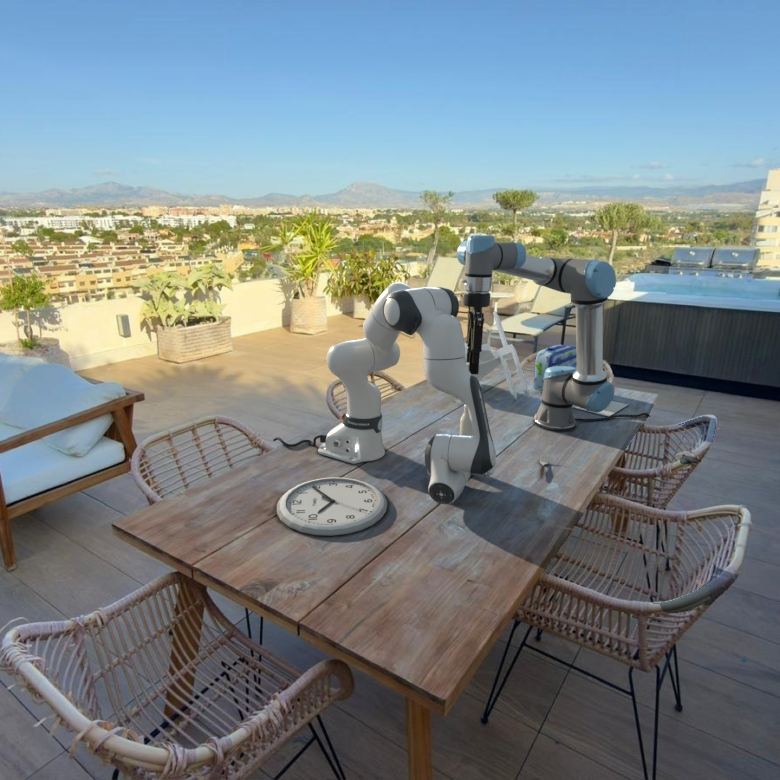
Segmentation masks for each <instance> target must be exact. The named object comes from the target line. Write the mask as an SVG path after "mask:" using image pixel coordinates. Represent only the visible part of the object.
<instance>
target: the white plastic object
mask: <svg viewBox="0 0 780 780" xmlns="http://www.w3.org/2000/svg"><path fill="white" fill-rule="evenodd" d="M492 315H493V319H494V321H495V324H496V325H495V326H496V328H497V332H498V335H499V338H500V342H501V345H502V347H500V348H498V349H496V350H495V349H493V348H492V347H491V346H490V344H489V343H488V342H487V343H482V348H481V349H482V351H481V352H480V355H479V364H480V371H479V372H478V374H472V375H473V376H475V377H476V378H477V379H478V381H479V383H480V382H482V381H484V378H485V377H486V376H487V375H489V374H490V373H492V372H494V371H495V370H496V369H497V368H499V367H500V366H502V370H503V373H504V376H505V380H506V383H507V386H508V390H509V393H510V394H511V395H512V397H513V398H514V399H515V400H517V392H516V391H517V390H516V388H515V385H514V381H513V378H512V375H511V371H510V369H509V365H508V361H510V360H513V363H514V366H515V369H516V372H517V376H518V380H519V382H520V385H521V389H522V391H523V393H524V395H525V396H526V397H528V396H531V395H530V390H529V388H528V387H529V386H528V384H527V381H526V378H525V375H524V371H523V369H522V368H523V367H522V366H521V362H520V359H519V355H518V352H517V349H516V347H515V346H514V345H513V343H511V344H508V341H507V337H506V334H505V331H504V328H503V325H502V321H501V318H500V315H499V314H498V312H497V311H496V310H495V311H492ZM464 345H465V360H466V362H467V348H469V347H467V343H466V342H465V341H464Z"/></svg>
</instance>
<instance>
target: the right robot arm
mask: <svg viewBox="0 0 780 780" xmlns="http://www.w3.org/2000/svg"><path fill="white" fill-rule="evenodd" d="M495 240H496V239H495V236H493V235H488V234H487V235H486V234H471V235H468V237H467V240H464V241H463V242H461V243H460V244H459V246H458V247H457V250H456V259H457V261H458V262H459V263H460V265H463V266H464V279H462V283H463V285H464V286H463V290H464V291H465V292H464V293H463V299H462V304H463V306H465V307H469V308H470V309H469V310H468V311H467V326H466V327H467V329H466V340H465V341H466V342H465V343H466V344H467V347H469V348H467V362H469V371H470V373H471V374H478V370H479V355H480V352H481V351H482V349H481V348H482V345H483V333H484V323H485V317H484V316H485V315H484V314H485V313H484V312H483V308H487V307H489V306H490V305H491V291H492V282H493V272H497V273H501V274H505V275H509V276H514V277H517V278H522V279H526V280H530V281H532V282H533V283H534V284H536V285H538V286H540V287H545V288H548V289H551V290H554V291H556V292H560V293H564V294H570V304H572V305H573V306H574V307H575V344H576V345H575V347H576V355H577V366H576V368H575V367H570V366H555V367H549V368H547V369H546V370H545V375H544V378H543V379H544V380H543V391H541V402H540V405H539V407H538V410H537V411H536V413H535V414H534V416H533V417H534V424H535V425H536V426H537V427H539V428H542V429H544V430H549V431H556V432H567V431H572V430H574V429H575V428H576V422H599V421H607V420H611V419H616V418H639V417H643V416H646V417H647V418H651V415H650V414H649V413H648V412H641V413H638V414H613V415H611V416H609V417H608V416H604V417H596V418H577V417H576V416H575V413H574V407H576V406H577V407H580V408H583V409H586V410H587V411H586V412H588V411H592V412H601V411H603V410H604V409H606V408H607V407H608V405H609V404H610V402H611V401H613V398H614V396H615V386H614V384H613V383H612V382H611V381H608V373H607V372H606V371H605V370H604V369H603V366H604V364H603V355H604V354H603V353H604V352H603V351H604V349H603V347H604V345H603V342H604V339H603V338H604V335H603V334H604V333H603V332H604V309H603V308H604V304H606V303H607V302H608V300H609V297H610V296H611V295H612V294H613V293H614V291H615V289H614V288H616V285H617V275H616V271H615V269H614V267H613V266H612V264H610V262H607V261H605V260H599V259H586V258H571V257H570V258H569V257H564V258H563V257H559V258H558V257H549V256H540V257H538V256H534V255H530V254H528V253H527V249H526V247H525V246H524V245H523V244H522V243H520V242H515V241H509V242H503V241H495ZM467 362H466V363H467ZM573 406H574V407H573ZM592 412H591V413H592ZM575 417H576V418H575Z"/></svg>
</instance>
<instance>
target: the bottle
mask: <svg viewBox="0 0 780 780" xmlns="http://www.w3.org/2000/svg"><path fill="white" fill-rule="evenodd" d="M458 432H459V434H458V435H464V436H473V431H472V426H471V421H470V416H469V411H468V408H467V406H466V405H465V404H464V405H463V413H462V415H461V417H460V420H459V431H458Z"/></svg>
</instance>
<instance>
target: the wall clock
mask: <svg viewBox="0 0 780 780" xmlns="http://www.w3.org/2000/svg"><path fill="white" fill-rule="evenodd" d="M387 509H388V500H387V498H386V496H385V494H384V493H383V492H382V491H381V490H380V489H379V488H377V487H376V486H374V485H372V484H371V483H369V482H365V481H362V480H359V479H355V478H349V477H338V476H337V477H335V476H333V477H332V476H331V477H322V478H317V479H312V480H307V481H305V482H302V483H299V484H297V485H295V486H293V487H292V488H290V489H288V490H287V491H286V492H285V493H284V494H283V495H281V496H280V498H279V499H278V502H277V503H276V515H277V517H278V518H279V520H280V521H281V522H282V523H283V524H285V525H286V526H287V527H288V528H290V529H293V530H295V531H297V532H299V533H303V534H308V535H312V536H327V537H328V536H329V537H331V536H332V537H333V536H342V535H350V534H352V533H356V532H361V531H363V530H366V529H368V528H369V527H372V526H373V525H375V524H376V523H378V522H379V521H380V520H381V519H382V518H383V517H384V516H385V514H386V512H387Z"/></svg>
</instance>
